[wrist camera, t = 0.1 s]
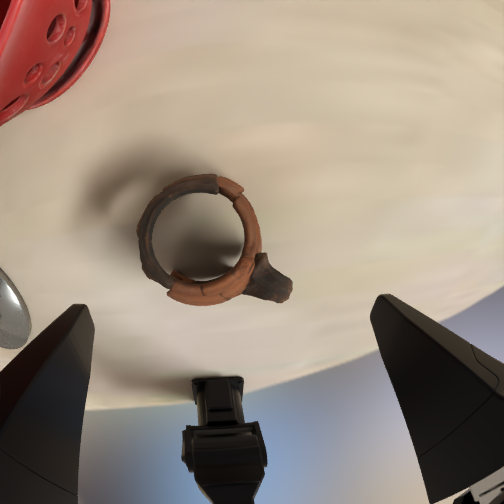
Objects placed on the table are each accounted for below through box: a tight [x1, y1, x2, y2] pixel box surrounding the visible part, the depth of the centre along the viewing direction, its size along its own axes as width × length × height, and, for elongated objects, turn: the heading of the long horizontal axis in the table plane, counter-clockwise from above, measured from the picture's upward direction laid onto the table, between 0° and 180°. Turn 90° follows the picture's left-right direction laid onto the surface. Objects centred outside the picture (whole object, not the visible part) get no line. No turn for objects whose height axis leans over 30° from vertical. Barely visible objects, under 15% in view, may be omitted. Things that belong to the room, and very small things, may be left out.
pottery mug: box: [136, 174, 293, 306], centre depth 21 cm, size 12×10×8 cm
